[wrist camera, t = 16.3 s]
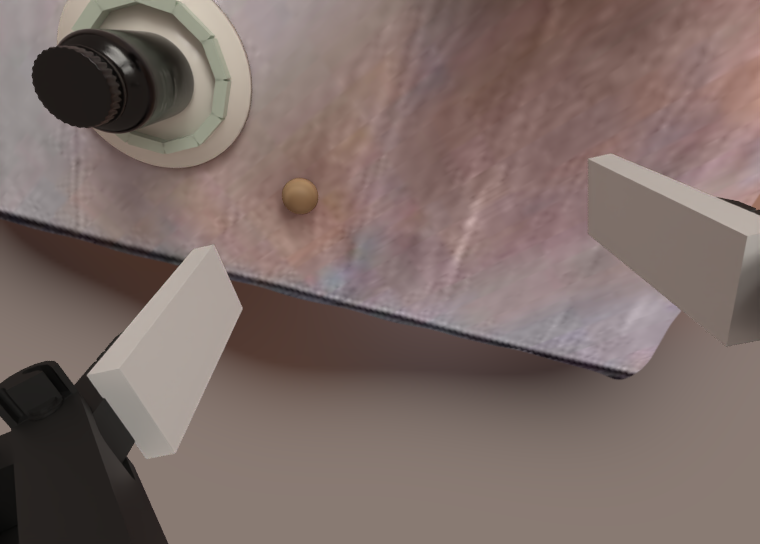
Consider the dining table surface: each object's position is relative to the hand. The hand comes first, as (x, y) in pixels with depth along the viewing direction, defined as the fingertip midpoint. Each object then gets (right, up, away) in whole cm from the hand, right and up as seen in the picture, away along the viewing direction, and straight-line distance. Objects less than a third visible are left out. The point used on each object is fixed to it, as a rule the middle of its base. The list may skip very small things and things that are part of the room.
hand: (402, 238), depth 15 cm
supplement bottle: (-20, +16, +22) cm, 34 cm away
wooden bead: (-9, +7, +28) cm, 30 cm away
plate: (-20, +16, +23) cm, 35 cm away
